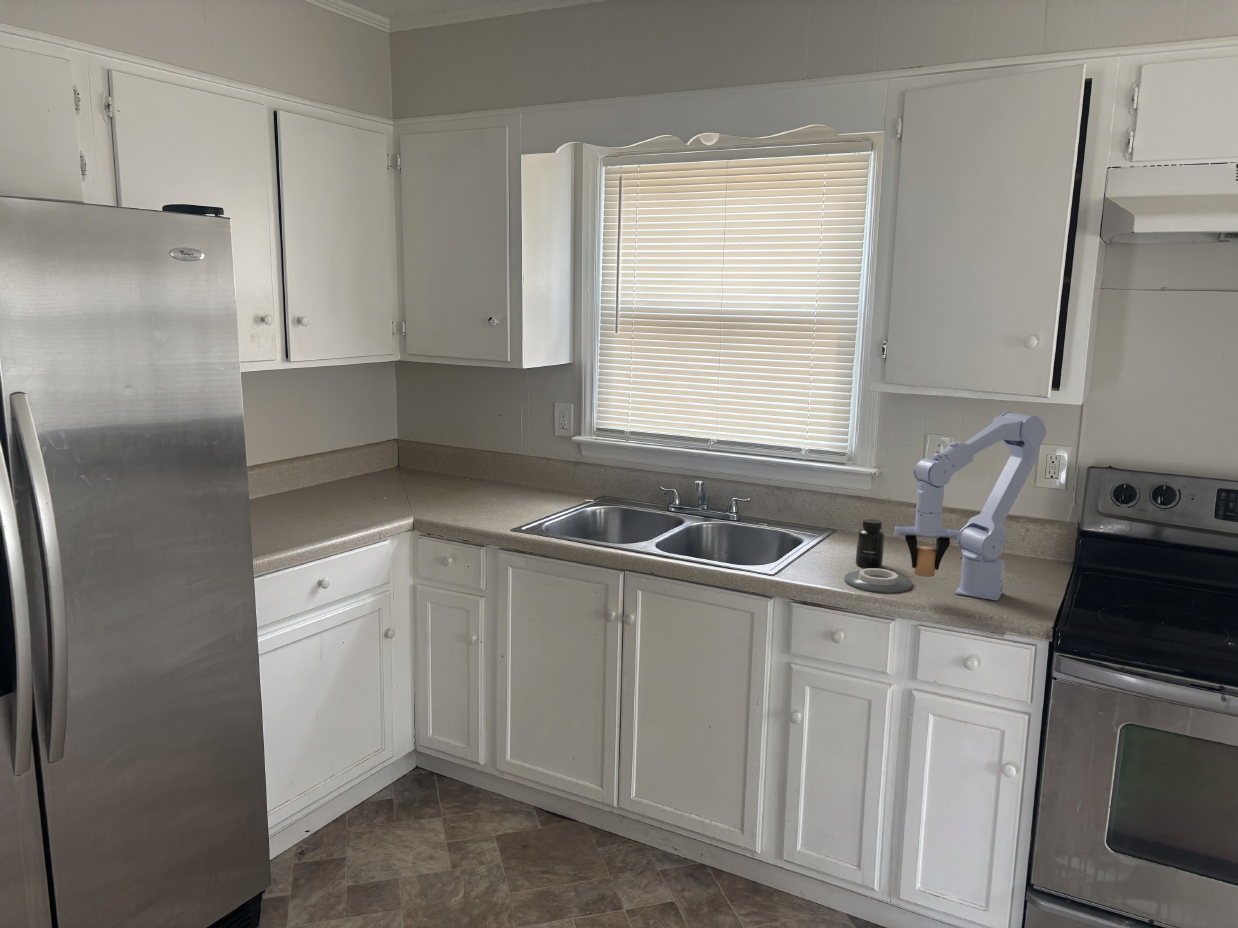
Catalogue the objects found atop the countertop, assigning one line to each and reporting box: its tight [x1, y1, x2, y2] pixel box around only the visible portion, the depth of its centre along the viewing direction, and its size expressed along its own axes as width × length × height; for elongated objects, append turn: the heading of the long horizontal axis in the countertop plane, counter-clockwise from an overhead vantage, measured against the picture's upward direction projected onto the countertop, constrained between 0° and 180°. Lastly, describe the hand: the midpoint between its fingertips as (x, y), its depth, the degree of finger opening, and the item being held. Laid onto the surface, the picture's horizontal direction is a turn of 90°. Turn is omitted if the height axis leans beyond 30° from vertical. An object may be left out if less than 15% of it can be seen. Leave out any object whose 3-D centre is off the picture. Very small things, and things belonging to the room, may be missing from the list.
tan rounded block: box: [914, 546, 936, 578], centre depth 210 cm, size 4×4×6 cm
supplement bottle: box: [855, 518, 886, 569], centre depth 236 cm, size 7×7×12 cm
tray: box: [843, 568, 913, 594], centre depth 222 cm, size 16×16×2 cm
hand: (925, 567), depth 210 cm, fingers closed on tan rounded block, 4 cm apart
